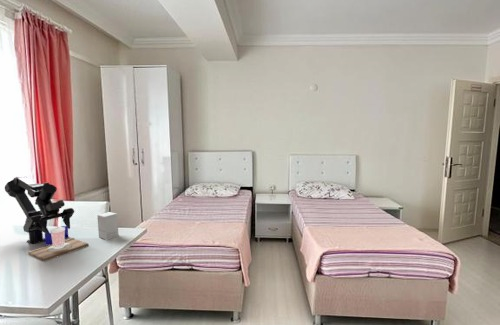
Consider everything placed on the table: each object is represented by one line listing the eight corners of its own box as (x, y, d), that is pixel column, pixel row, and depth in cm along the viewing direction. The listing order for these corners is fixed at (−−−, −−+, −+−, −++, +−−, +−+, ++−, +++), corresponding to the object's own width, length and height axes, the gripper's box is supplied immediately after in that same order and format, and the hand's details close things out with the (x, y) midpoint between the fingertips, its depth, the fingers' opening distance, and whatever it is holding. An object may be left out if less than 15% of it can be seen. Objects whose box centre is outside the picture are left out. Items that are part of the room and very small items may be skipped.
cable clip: (60, 236, 158) (59, 225, 158) (68, 236, 158) (67, 226, 157) (42, 244, 146) (41, 233, 146) (51, 245, 146) (50, 233, 145)
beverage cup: (52, 245, 141) (50, 218, 139) (67, 243, 143) (65, 216, 142) (50, 250, 135) (47, 221, 134) (65, 248, 138) (63, 219, 136)
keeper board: (28, 254, 135) (28, 251, 134) (73, 240, 152) (72, 237, 152) (43, 261, 127) (43, 258, 127) (88, 245, 145) (88, 242, 144)
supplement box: (119, 235, 158) (117, 213, 157) (106, 240, 152) (104, 216, 151) (111, 233, 162) (109, 211, 161) (98, 237, 156) (96, 214, 155)
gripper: (28, 199, 131) (42, 227, 126) (71, 192, 147) (85, 216, 142) (21, 214, 136) (35, 241, 131) (63, 205, 152) (77, 229, 147)
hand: (59, 231), depth 138 cm, fingers open, 9 cm apart
